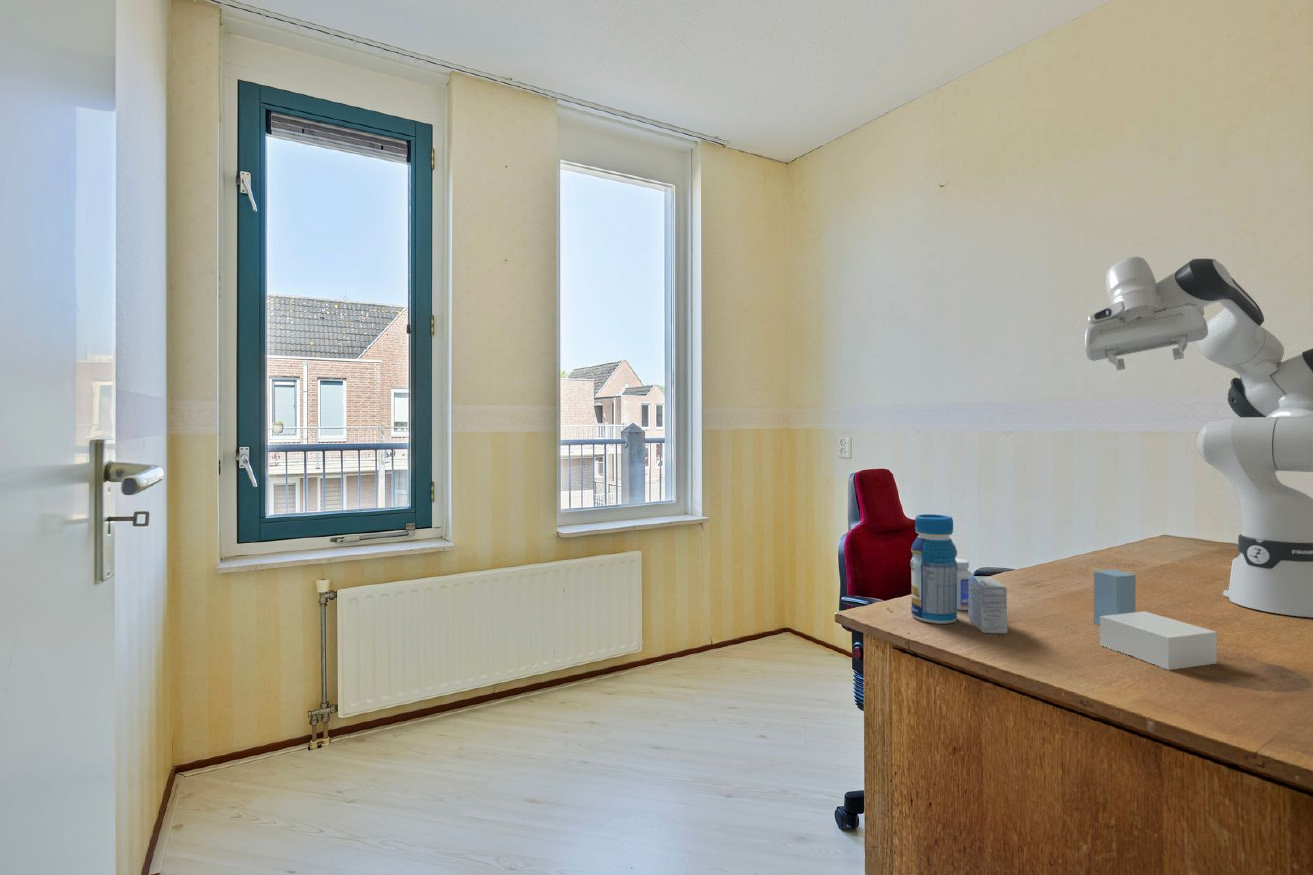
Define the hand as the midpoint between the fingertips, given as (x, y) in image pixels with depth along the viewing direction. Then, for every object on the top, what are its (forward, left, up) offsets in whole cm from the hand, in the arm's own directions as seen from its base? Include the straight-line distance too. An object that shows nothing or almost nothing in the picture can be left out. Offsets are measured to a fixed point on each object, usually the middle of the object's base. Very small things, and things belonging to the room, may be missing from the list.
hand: (1149, 362), depth 125 cm
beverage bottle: (+48, -5, -51) cm, 70 cm away
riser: (+26, +20, -50) cm, 60 cm away
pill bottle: (+38, -10, -51) cm, 64 cm away
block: (+19, +8, -50) cm, 54 cm away
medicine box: (+42, +2, -51) cm, 66 cm away
